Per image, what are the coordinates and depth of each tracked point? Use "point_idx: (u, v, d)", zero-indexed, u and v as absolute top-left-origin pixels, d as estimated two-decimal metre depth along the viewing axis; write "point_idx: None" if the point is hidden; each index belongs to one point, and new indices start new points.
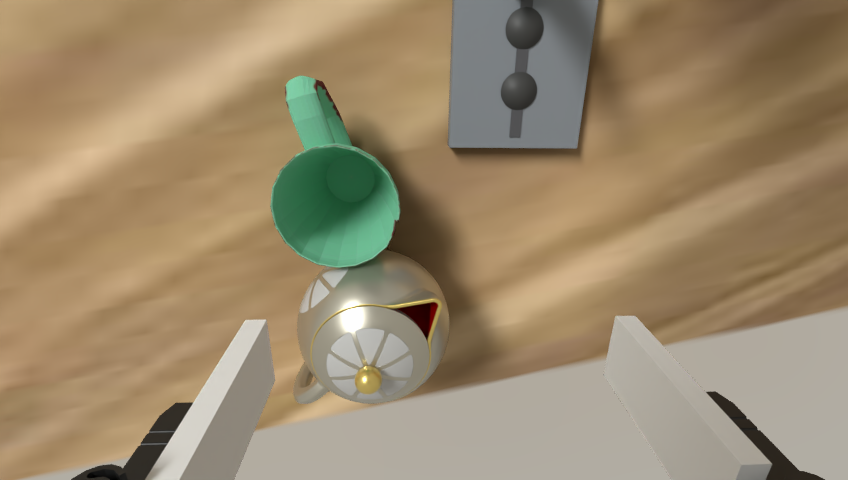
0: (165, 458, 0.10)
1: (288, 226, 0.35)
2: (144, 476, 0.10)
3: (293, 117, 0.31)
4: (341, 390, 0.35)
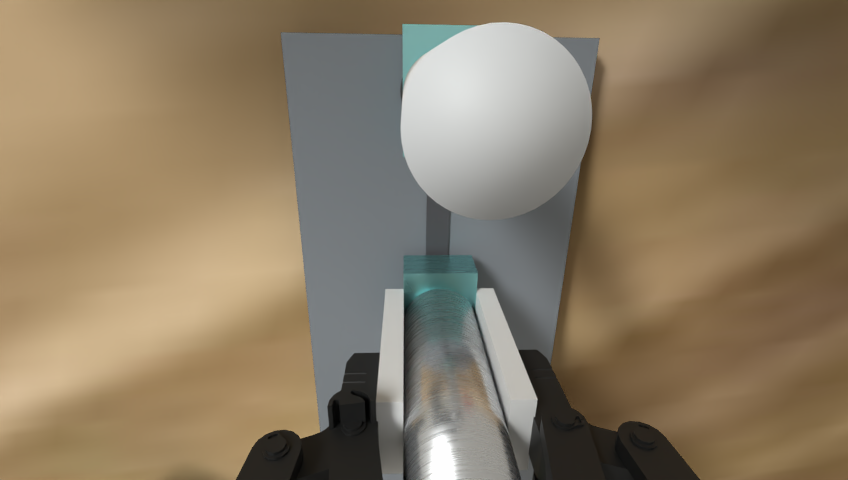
0: (382, 387, 0.12)
1: None
2: None
3: None
4: None
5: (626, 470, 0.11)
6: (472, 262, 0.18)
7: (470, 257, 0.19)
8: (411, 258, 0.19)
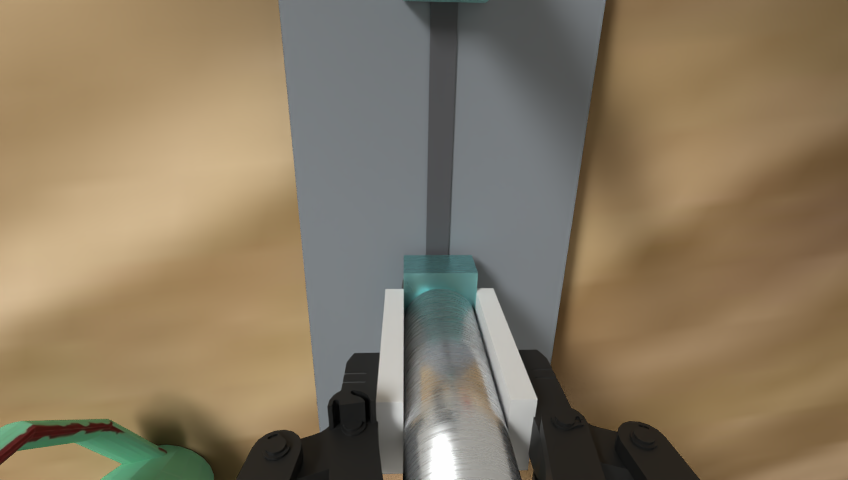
0: (382, 387, 0.12)
1: None
2: None
3: None
4: None
5: (626, 470, 0.11)
6: (472, 262, 0.18)
7: (470, 257, 0.19)
8: (411, 258, 0.19)
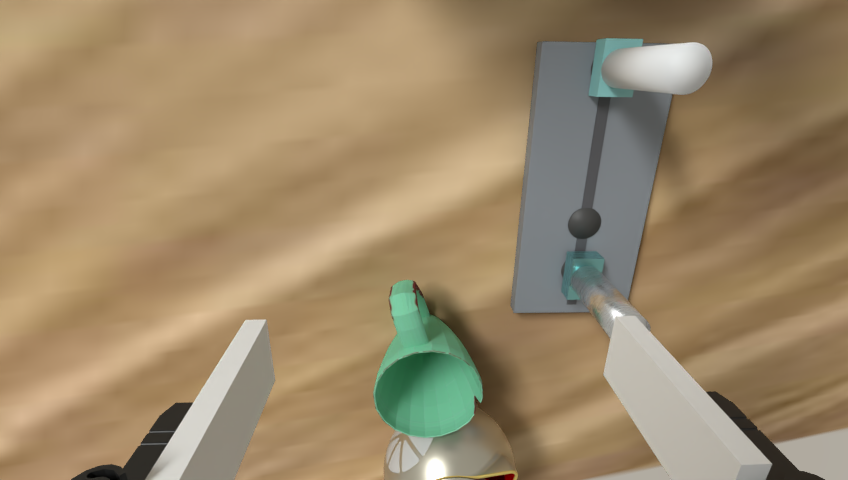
0: (165, 458, 0.10)
1: (383, 401, 0.40)
2: (144, 476, 0.10)
3: (397, 327, 0.36)
4: None
5: None
6: (599, 254, 0.42)
7: (597, 252, 0.42)
8: (571, 252, 0.42)
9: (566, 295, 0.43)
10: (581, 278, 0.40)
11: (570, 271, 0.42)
